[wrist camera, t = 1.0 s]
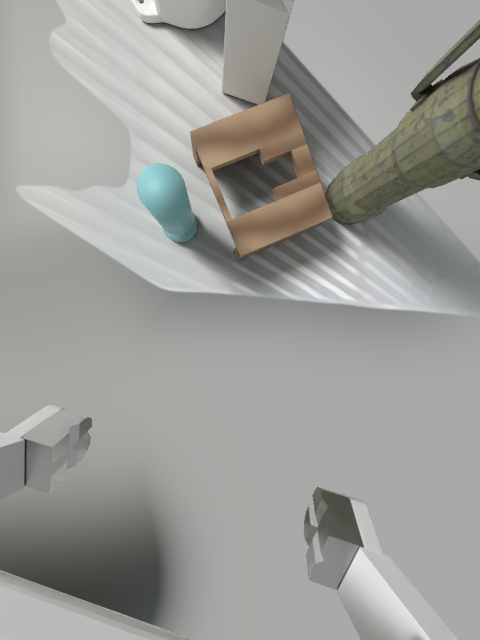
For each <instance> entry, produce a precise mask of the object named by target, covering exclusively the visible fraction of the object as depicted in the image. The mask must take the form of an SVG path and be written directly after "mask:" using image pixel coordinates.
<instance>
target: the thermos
mask: <svg viewBox="0 0 480 640" xmlns="http://www.w3.org/2000/svg"><path fill="white" fill-rule="evenodd" d="M479 38H480V20H479V21H478V22H477V23H476V24H475V25H474V26H473V27H472V28H471V29H470V30H469V31H468V32H467V33H466V34H465V35H464V36H463V37H462V38H461V39H460V40H459V41H458V42H457V43H456V44H455V45H454V46H453V47H452V48H451V49H450V50H449V51H448V52H447V53H446V54H445V55H444V56H443V57H442V58H441V59H440V60H439V61H438V62H437V63H436V64H435V65H434V66H433V68H432V69H431V70H430V71H429V72H428V73H427V74H426V76H425V77H424V78H423V79H422V80H421V82H420V83H419V84H418V85H417V87H416V88H415V89H414V90H413V91H412V93H411V95H412V97H413V98H414V99H415V100H416V103H415V104H414V105H413V107H412V108H411V109H410V111H409V112H408V113H407V114H406V115H405V117H404V118H403V119H402V121H401V122H400V124H399V126H398V127H397V128H396V129H395V130H394V131H393V132H391V133H390V134H389V135H388V136H387V137H386V138H384V139H383V140H382V141H381V142H380V143H379V144H378V145H376V146H375V147H374V148H373V149H372V150H371V151H369V152H368V153H367V154H366V155H363V156H359V157H358V158H357V159H355V160H354V161H353V162H352V163H350V164H349V165H348V166H347V167H346V168H344V169H343V170H342V171H341V172H340V173H339V174H338V176H337V177H336V178H335V179H334V180H333V181H332V182H331V183H330V185H329V186H328V188H327V191H326V194H325V197H326V200H327V203H328V206H329V208H330V211H331V214H332V218H333V219H334V220H335V221H336V222H338V223H341V224H345V225H351V224H354V223H358V222H360V221H364V220H367V219H369V218H371V217H373V216H376V215H378V214H380V213H382V211H383V210H384V209H385V208H386V207H387V206H389V205H391V204H393V203H396V202H398V201H400V200H402V199H404V198H406V197H408V196H411V195H413V194H415V193H417V192H419V191H421V190H423V189H426V188H435V187H438V186H441V185H444V184H447V183H449V182H451V181H453V180H456V179H458V178H460V179H463V178H465V177H467V176H468V177H469V178H472V179H476V180H480V58H479V59H477V60H475V61H473V62H471V63H469V64H467V65H464V66H462V67H460V68H459V69H458V70H456V71H455V72H454V73H452V74H451V75H449V76H448V77H447V78H446V79H445V80H440V81H439V82H437V83H436V84H435V85H433V86H432V85H431V83H432V82H433V81H434V80H435V79H436V78H437V77H439V75H441V74H442V73H443V72H444V71H445V70H446V69H447V68H448V67H449V66H450V65H451V64H452V63H453V62H454V61H456V60H457V59H458V58H459V57H460V56H461V55H462V54H463V53H464V52H465V51H466V50H467V49H469V48H470V47H471V46H472V45H473V44H474V43H475V42H476V41H477V40H478V39H479Z"/></svg>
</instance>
